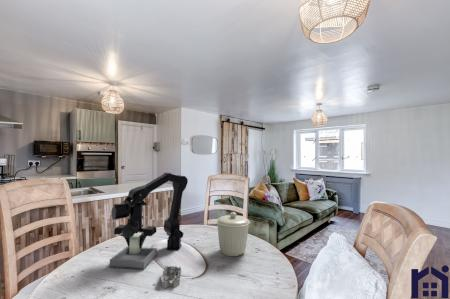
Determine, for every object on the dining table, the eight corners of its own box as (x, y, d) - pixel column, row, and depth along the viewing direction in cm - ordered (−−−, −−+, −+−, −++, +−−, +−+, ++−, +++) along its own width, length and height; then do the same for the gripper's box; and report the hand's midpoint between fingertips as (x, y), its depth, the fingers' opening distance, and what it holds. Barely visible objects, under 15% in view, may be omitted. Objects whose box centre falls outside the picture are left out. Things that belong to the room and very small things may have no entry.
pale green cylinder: (142, 249, 106) (142, 235, 107) (137, 254, 101) (137, 239, 102) (132, 248, 107) (133, 234, 107) (127, 253, 102) (127, 238, 102)
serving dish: (156, 255, 110) (156, 248, 110) (143, 269, 96) (144, 261, 96) (126, 253, 112) (126, 246, 112) (109, 267, 98) (109, 259, 98)
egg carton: (179, 288, 84) (179, 277, 84) (159, 288, 84) (159, 278, 84) (182, 273, 95) (182, 263, 95) (164, 273, 94) (165, 263, 94)
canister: (231, 264, 103) (232, 219, 104) (208, 250, 117) (209, 211, 117) (256, 253, 115) (257, 212, 115) (233, 242, 129) (233, 206, 129)
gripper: (106, 219, 97) (105, 254, 97) (147, 221, 96) (146, 257, 95) (121, 212, 109) (120, 244, 108) (157, 214, 107) (156, 246, 106)
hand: (135, 248), depth 104 cm, fingers closed on pale green cylinder, 5 cm apart
